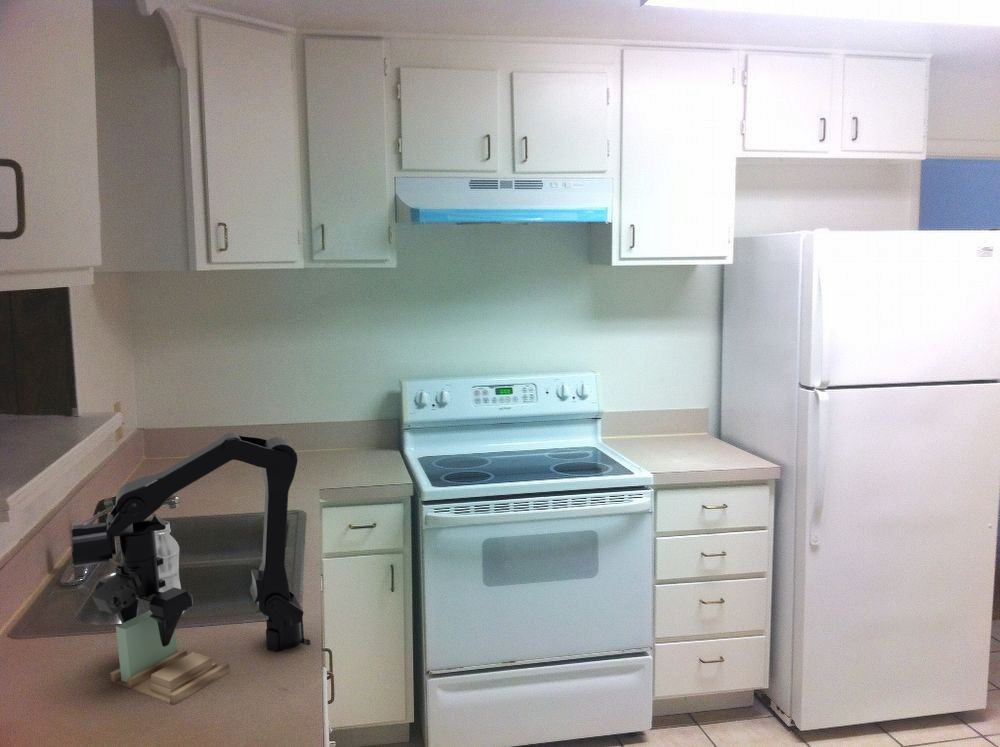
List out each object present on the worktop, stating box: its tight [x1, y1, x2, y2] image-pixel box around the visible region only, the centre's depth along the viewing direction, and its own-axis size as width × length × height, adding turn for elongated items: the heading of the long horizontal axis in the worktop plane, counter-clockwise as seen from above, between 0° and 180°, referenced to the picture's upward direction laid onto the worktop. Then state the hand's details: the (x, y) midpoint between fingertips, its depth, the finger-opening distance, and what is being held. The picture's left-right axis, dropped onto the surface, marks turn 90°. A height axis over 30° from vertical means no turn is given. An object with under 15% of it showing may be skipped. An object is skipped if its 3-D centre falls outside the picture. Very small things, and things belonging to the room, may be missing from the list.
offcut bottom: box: [150, 661, 218, 698], centre depth 155 cm, size 10×5×2 cm, turn 150°
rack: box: [109, 648, 231, 705], centre depth 157 cm, size 12×16×2 cm
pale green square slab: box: [115, 610, 178, 682], centre depth 159 cm, size 10×2×10 cm, turn 150°
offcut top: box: [151, 651, 213, 690], centre depth 155 cm, size 9×5×2 cm, turn 150°
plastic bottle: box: [155, 520, 186, 616], centre depth 180 cm, size 6×7×20 cm
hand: (148, 640), depth 159 cm, fingers open, 9 cm apart
